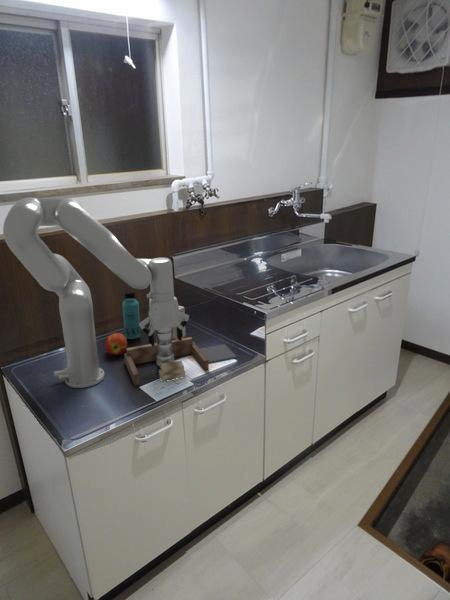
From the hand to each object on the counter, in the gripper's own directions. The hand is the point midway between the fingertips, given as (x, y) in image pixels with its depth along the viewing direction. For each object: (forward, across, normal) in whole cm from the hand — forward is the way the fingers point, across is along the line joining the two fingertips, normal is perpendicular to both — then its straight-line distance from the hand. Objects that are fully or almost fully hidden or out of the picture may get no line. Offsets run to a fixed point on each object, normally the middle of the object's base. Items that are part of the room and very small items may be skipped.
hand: (165, 341), depth 146 cm
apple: (+9, -15, +16) cm, 24 cm away
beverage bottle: (+9, -7, +26) cm, 28 cm away
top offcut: (+7, -1, -8) cm, 11 cm away
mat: (+10, +19, +1) cm, 22 cm away
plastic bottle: (+9, -1, 0) cm, 9 cm away
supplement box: (+10, +9, +22) cm, 26 cm away
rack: (+9, -1, -1) cm, 9 cm away
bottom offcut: (+10, -1, -8) cm, 13 cm away
